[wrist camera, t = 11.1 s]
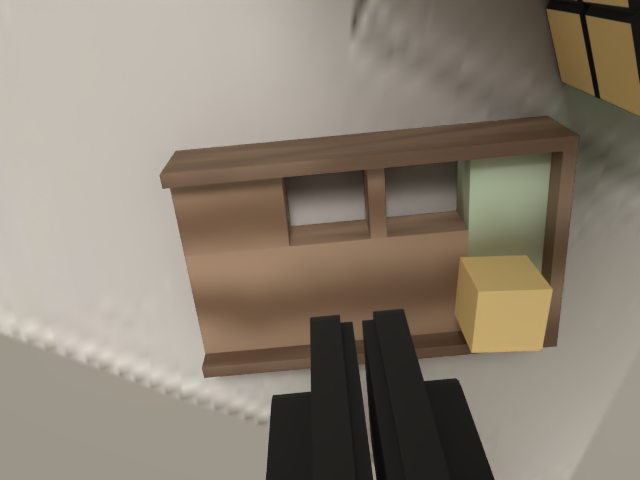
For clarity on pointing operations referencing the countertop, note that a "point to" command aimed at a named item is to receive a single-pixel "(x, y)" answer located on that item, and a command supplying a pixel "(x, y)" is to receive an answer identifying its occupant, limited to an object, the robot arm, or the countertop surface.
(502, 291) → the block
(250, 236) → the box
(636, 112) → the puzzle cube
